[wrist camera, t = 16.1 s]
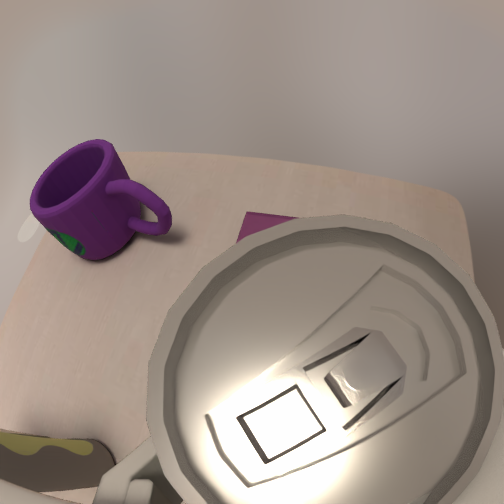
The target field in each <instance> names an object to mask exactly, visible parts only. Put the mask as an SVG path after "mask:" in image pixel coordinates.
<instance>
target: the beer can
mask: <svg viewBox="0 0 504 504" xmlns="http://www.w3.org/2000/svg"><path fill="white" fill-rule="evenodd" d="M503 400H504V355H503V351H502V346H501V342H500V338H499V333H498V329H497V325H496V321H495V318H494V316H493V315H492V312H491V311H490V309H489V307H488V305H487V304H486V302H485V300H484V298H483V297H482V295H481V293H480V292H479V290H478V288H477V287H476V285H475V283H474V282H473V280H472V279H471V277H470V276H469V275H468V274H467V273H466V272H465V271H464V270H463V269H462V268H461V267H460V266H459V265H458V264H456V263H455V262H454V261H453V260H452V259H451V258H450V257H449V256H448V255H447V254H445V253H444V252H443V251H442V250H441V249H440V248H439V247H438V246H436V245H435V244H434V243H432V242H430V241H428V240H426V239H424V238H422V237H420V236H418V235H416V234H414V233H412V232H409V231H407V230H405V229H403V228H401V227H399V226H397V225H395V224H393V223H388V222H383V221H378V220H372V219H367V218H361V217H356V216H350V215H331V216H320V217H309V218H298V219H292V220H290V221H287V222H284V223H281V224H279V225H276V226H273V227H270V228H268V229H265V230H262V231H260V232H257V233H254V234H251V235H249V236H246V237H244V238H243V239H242V240H240V241H239V242H237V243H236V244H235V245H233V246H232V247H230V248H229V249H228V250H226V251H225V252H223V253H222V254H221V255H219V256H218V257H216V258H215V259H214V260H212V261H211V262H210V263H208V264H207V265H205V266H204V267H203V268H202V269H201V270H200V271H199V273H198V274H197V275H196V276H195V278H194V279H193V280H192V281H191V283H190V284H189V285H188V286H187V288H186V289H185V290H184V291H183V293H182V294H181V295H180V297H179V298H178V299H177V300H176V302H175V303H174V304H173V305H172V307H171V308H170V309H169V311H168V313H167V316H166V318H165V321H164V323H163V326H162V328H161V331H160V334H159V336H158V339H157V342H156V344H155V347H154V349H153V352H152V355H151V358H150V360H149V363H148V381H147V412H146V421H147V424H148V428H149V431H150V434H151V437H152V441H153V444H154V447H155V450H156V453H157V456H158V459H159V462H160V464H161V467H162V470H163V473H164V475H165V477H166V478H167V480H168V481H169V482H170V484H171V485H172V486H173V488H174V489H175V490H176V491H177V493H178V494H179V495H180V496H181V498H182V499H183V500H184V501H185V502H186V504H408V503H410V502H412V501H414V500H416V499H418V498H420V497H422V496H424V495H426V494H427V493H429V492H431V491H432V492H431V493H430V495H429V496H428V498H427V499H426V500H425V502H424V503H423V504H452V503H453V502H454V501H455V500H456V499H457V498H458V497H459V496H460V495H461V493H462V492H463V491H464V490H465V489H466V488H467V486H468V485H469V484H470V483H471V481H472V480H473V479H474V478H475V476H476V475H477V474H478V473H479V471H480V469H481V467H482V465H483V462H484V460H485V458H486V456H487V454H488V452H489V449H490V447H491V445H492V442H493V440H494V437H495V435H496V432H497V430H498V427H499V424H500V422H501V417H502V409H503Z"/></svg>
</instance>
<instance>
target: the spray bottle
mask: <svg viewBox="0 0 504 504" xmlns="http://www.w3.org/2000/svg"><path fill="white" fill-rule="evenodd" d="M113 467H114V462H113V459H112V457H111V455H110V453H109V452H108V450H107V449H106V448H105V447H104V446H103V445H102V444H101V443H99V442H97V441H95V440H92V439H54V438H50V437H46V436H37V435H28V434H17V433H5V432H0V479H3V480H5V481H8V482H10V483H13V484H15V485H18V486H21V487H24V488H26V489H29V490H32V491H35V492H53V491H65V490H73V489H81V488H90V487H96V486H99V484H100V481H101V478H102V476H103V475H104V474H105V473H106V472H108V471H109V470H110V469H111V468H113Z"/></svg>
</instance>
